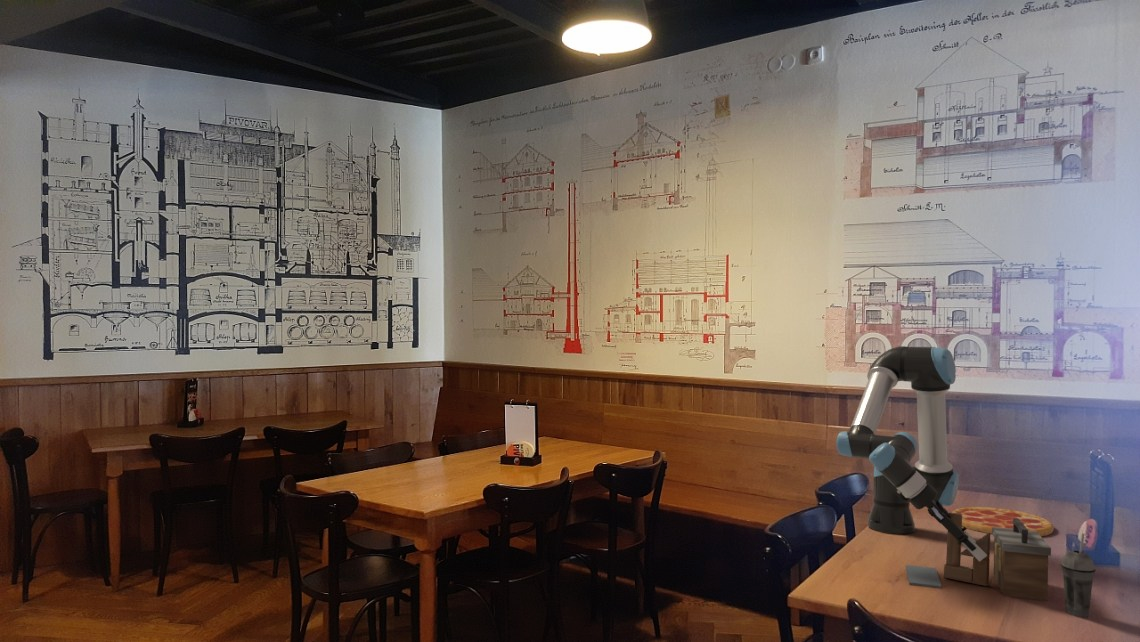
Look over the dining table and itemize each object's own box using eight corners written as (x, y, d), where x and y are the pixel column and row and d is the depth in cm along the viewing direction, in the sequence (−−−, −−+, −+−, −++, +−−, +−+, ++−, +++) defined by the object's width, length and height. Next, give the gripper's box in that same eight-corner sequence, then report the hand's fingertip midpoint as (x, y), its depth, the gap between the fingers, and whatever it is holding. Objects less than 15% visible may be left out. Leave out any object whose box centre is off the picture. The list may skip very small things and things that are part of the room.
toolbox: (991, 575, 219) (992, 514, 219) (1035, 580, 215) (1036, 518, 215) (1002, 596, 203) (1003, 529, 203) (1050, 601, 199) (1051, 534, 199)
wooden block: (986, 586, 209) (988, 519, 210) (943, 577, 215) (946, 512, 217) (988, 584, 212) (991, 518, 213) (946, 576, 218) (949, 511, 220)
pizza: (1074, 539, 257) (1074, 530, 257) (978, 537, 258) (978, 529, 258) (1020, 514, 289) (1020, 507, 289) (934, 513, 290) (935, 505, 290)
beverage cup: (1053, 608, 195) (1054, 529, 195) (1080, 607, 196) (1081, 529, 195) (1074, 619, 188) (1075, 538, 187) (1102, 618, 188) (1103, 537, 188)
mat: (905, 566, 226) (905, 564, 226) (935, 570, 224) (935, 567, 224) (909, 584, 211) (909, 582, 211) (941, 588, 208) (941, 586, 208)
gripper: (904, 492, 227) (966, 554, 221) (909, 506, 210) (975, 573, 205) (924, 475, 225) (987, 538, 220) (930, 488, 208) (998, 556, 203)
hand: (981, 555), depth 212 cm, fingers closed on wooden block, 5 cm apart
